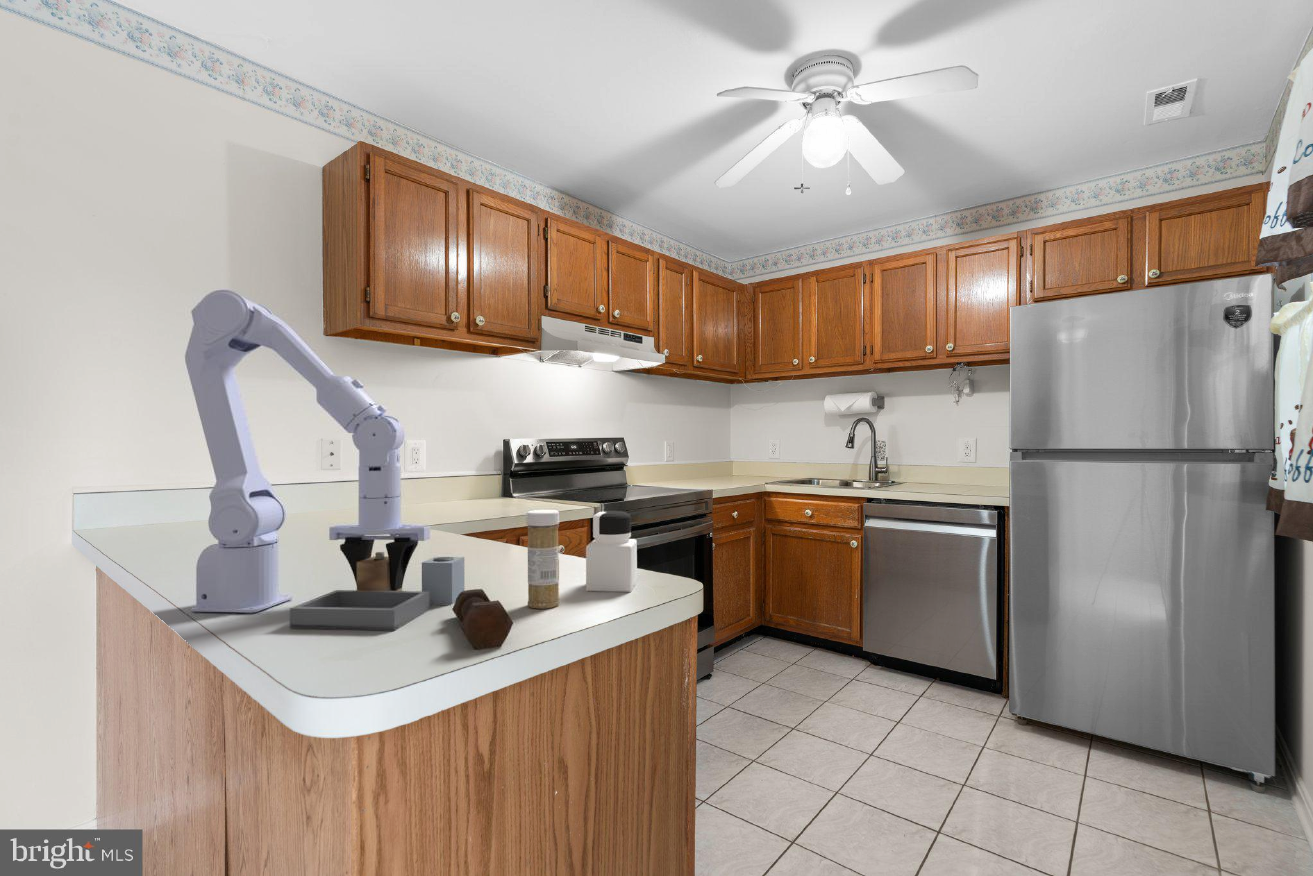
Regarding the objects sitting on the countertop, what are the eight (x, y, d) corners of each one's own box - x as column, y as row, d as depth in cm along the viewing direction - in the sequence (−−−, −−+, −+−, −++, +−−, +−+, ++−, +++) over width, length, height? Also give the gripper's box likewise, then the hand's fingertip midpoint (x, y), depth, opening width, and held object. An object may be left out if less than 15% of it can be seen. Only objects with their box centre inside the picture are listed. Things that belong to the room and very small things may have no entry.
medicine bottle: (637, 582, 102) (636, 509, 102) (631, 592, 94) (630, 514, 95) (594, 581, 102) (594, 509, 102) (585, 591, 95) (585, 514, 95)
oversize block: (421, 604, 88) (421, 561, 88) (435, 596, 93) (435, 555, 93) (452, 604, 88) (451, 561, 88) (464, 597, 92) (464, 556, 92)
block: (356, 603, 89) (356, 555, 89) (373, 596, 93) (373, 549, 93) (386, 604, 88) (386, 555, 88) (402, 596, 93) (402, 550, 93)
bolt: (473, 628, 83) (495, 660, 69) (439, 613, 81) (454, 643, 67) (494, 588, 84) (520, 611, 71) (461, 573, 82) (481, 594, 69)
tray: (289, 628, 77) (289, 608, 77) (336, 607, 86) (336, 590, 86) (394, 630, 76) (394, 610, 76) (429, 609, 85) (429, 591, 85)
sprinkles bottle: (558, 600, 90) (558, 508, 90) (560, 608, 85) (560, 511, 85) (526, 602, 89) (526, 509, 89) (526, 610, 84) (526, 512, 84)
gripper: (439, 494, 94) (439, 583, 94) (348, 494, 95) (348, 582, 95) (417, 498, 87) (417, 594, 87) (320, 498, 88) (320, 593, 88)
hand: (380, 588), depth 91 cm, fingers closed on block, 4 cm apart
